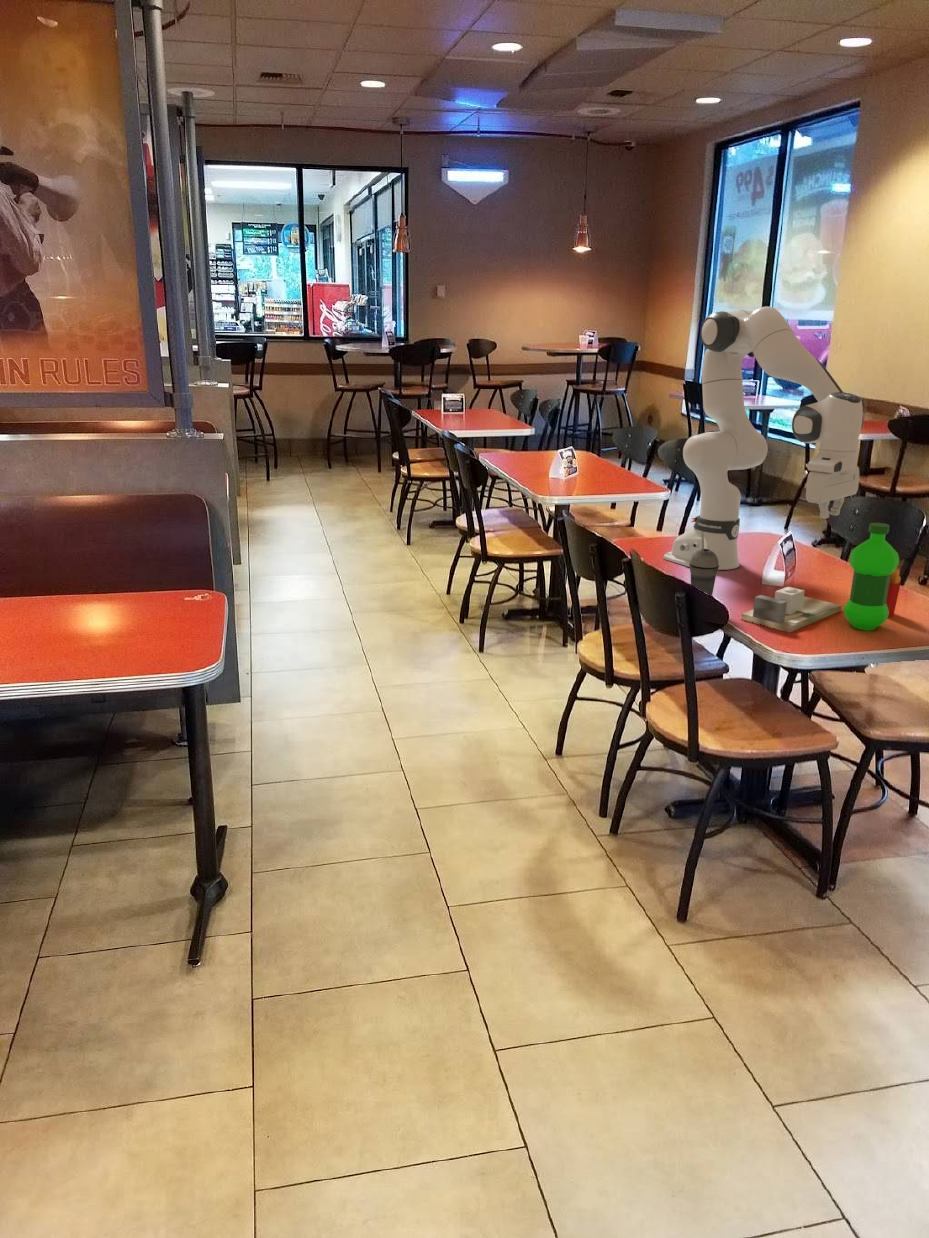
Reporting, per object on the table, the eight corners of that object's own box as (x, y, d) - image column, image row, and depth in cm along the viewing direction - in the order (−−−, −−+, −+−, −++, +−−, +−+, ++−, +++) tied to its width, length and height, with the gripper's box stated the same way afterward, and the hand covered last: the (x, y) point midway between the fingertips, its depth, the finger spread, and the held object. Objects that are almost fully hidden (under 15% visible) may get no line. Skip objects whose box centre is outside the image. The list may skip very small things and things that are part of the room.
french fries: (898, 617, 227) (906, 570, 223) (883, 618, 226) (891, 571, 222) (879, 607, 235) (886, 561, 231) (865, 607, 234) (872, 562, 230)
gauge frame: (741, 619, 225) (743, 594, 222) (793, 599, 240) (796, 575, 238) (789, 632, 215) (793, 606, 213) (840, 610, 231) (844, 586, 229)
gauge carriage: (766, 613, 224) (769, 592, 222) (785, 605, 229) (788, 585, 228) (797, 621, 218) (800, 599, 216) (816, 613, 224) (819, 592, 222)
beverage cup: (707, 615, 227) (715, 536, 221) (680, 609, 232) (687, 532, 225) (719, 608, 233) (727, 531, 227) (692, 602, 237) (699, 527, 231)
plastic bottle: (834, 627, 219) (849, 525, 211) (851, 616, 227) (866, 517, 219) (877, 636, 213) (894, 531, 205) (893, 626, 220) (909, 524, 212)
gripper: (844, 455, 233) (837, 509, 238) (804, 463, 220) (797, 520, 225) (869, 458, 229) (861, 513, 233) (829, 467, 216) (821, 524, 220)
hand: (829, 516), depth 229 cm, fingers open, 4 cm apart
